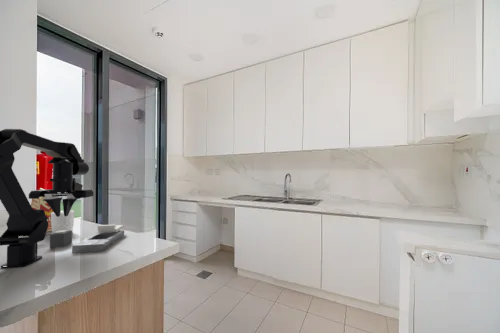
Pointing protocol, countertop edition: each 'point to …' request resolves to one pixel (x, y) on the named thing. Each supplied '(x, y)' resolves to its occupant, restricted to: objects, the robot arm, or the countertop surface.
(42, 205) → the milk carton
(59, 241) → the plug
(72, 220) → the white cup
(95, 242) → the socket plate
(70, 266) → the countertop surface
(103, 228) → the panel
